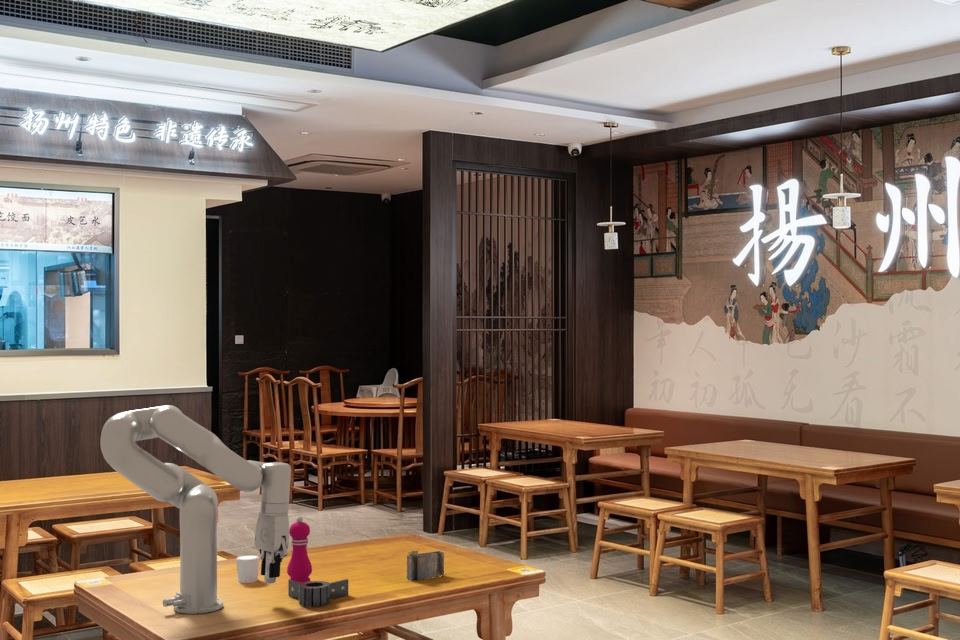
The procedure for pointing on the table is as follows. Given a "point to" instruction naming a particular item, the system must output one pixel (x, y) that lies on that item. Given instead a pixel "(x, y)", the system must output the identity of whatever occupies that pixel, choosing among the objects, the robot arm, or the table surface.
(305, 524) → the pepper mill
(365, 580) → the table surface
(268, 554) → the hinge pin
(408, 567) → the rusty metal bracket
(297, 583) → the hinge
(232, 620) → the table surface
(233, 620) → the table surface
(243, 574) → the white cup
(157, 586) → the table surface
